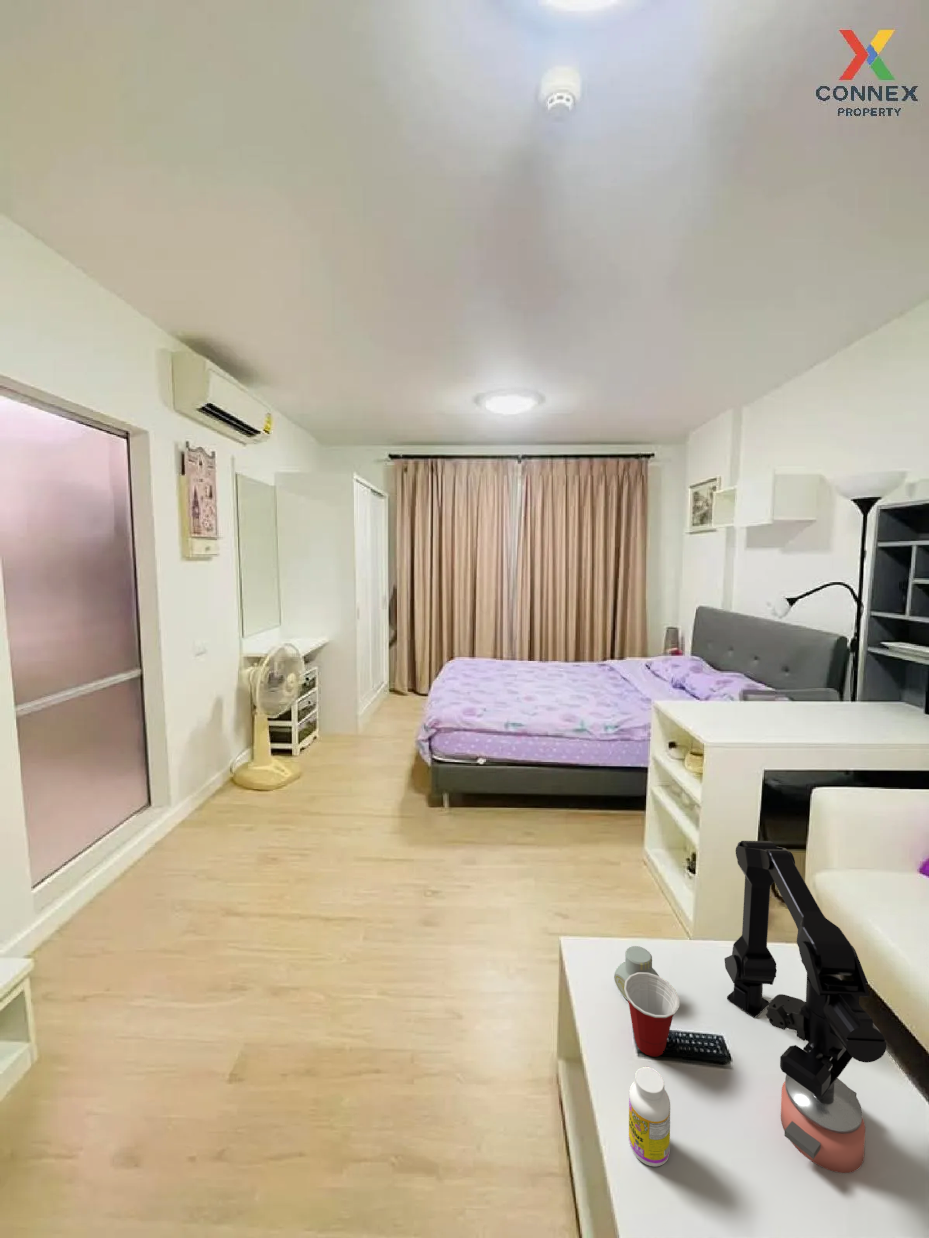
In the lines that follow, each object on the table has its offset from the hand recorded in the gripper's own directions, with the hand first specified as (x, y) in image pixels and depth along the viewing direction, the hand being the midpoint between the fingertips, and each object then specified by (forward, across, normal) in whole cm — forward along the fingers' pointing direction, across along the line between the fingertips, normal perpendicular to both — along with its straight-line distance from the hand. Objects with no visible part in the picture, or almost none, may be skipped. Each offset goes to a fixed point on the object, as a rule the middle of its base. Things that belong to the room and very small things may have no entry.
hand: (822, 1091), depth 92 cm
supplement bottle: (+8, +26, -16) cm, 32 cm away
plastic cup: (+8, +9, -28) cm, 31 cm away
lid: (+2, 0, 0) cm, 2 cm away
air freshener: (+8, 0, -38) cm, 39 cm away
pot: (+8, 0, 0) cm, 8 cm away
